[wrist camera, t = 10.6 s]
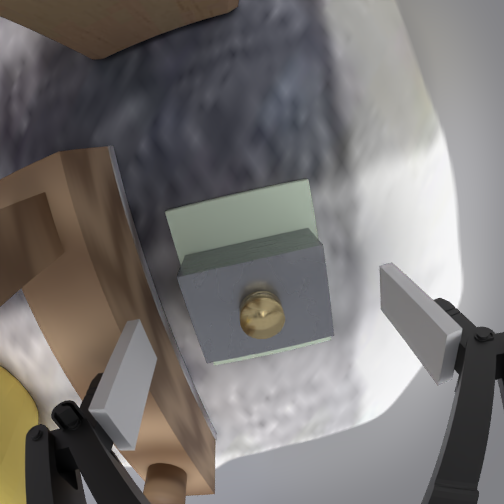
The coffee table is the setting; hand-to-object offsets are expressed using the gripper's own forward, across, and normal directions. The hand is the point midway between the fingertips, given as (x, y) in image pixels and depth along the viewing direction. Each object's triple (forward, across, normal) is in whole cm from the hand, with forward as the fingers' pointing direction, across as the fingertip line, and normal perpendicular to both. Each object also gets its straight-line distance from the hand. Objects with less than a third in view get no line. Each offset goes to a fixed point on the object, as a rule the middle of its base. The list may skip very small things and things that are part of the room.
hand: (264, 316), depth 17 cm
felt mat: (+6, 0, -1) cm, 6 cm away
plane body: (+6, -10, -3) cm, 11 cm away
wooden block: (+6, -3, +21) cm, 22 cm away
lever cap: (+5, 0, -1) cm, 5 cm away
